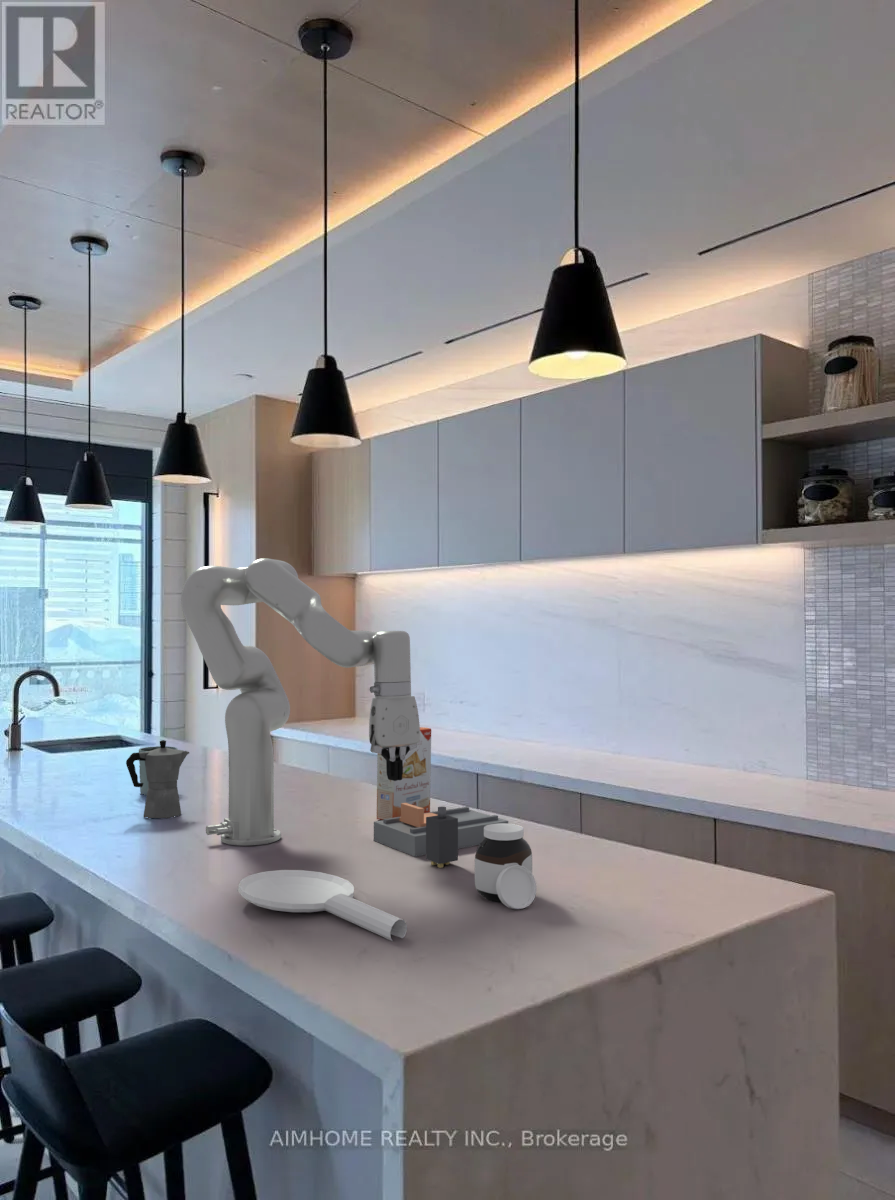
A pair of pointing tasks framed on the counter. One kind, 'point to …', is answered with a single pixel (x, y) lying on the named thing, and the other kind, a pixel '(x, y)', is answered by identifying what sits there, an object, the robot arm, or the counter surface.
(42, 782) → the counter surface
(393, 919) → the frying pan
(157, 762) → the coffeepot
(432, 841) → the plug
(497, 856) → the spread jar
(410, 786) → the cracker box
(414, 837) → the socket block
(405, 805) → the tan l-shaped bracket
